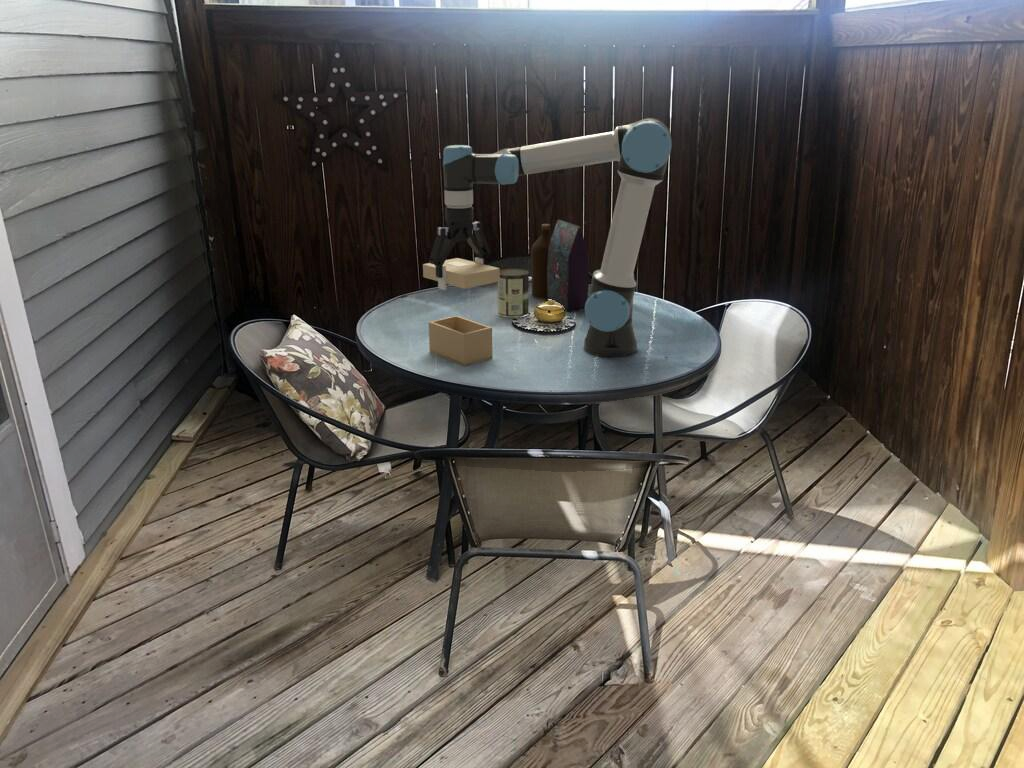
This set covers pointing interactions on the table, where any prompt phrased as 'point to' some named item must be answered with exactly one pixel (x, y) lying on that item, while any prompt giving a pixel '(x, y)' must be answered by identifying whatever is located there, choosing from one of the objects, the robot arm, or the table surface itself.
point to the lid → (464, 273)
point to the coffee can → (513, 293)
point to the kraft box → (460, 340)
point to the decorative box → (568, 267)
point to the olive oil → (540, 262)
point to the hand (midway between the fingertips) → (461, 285)
